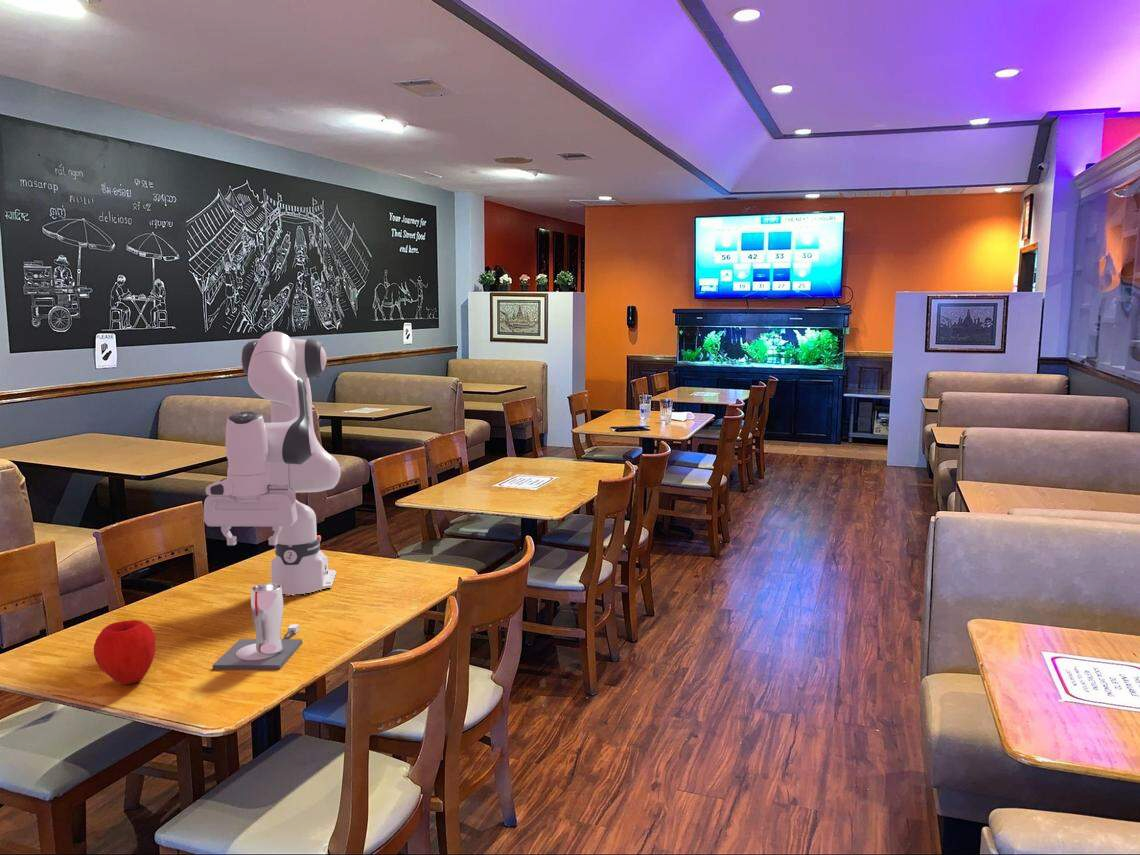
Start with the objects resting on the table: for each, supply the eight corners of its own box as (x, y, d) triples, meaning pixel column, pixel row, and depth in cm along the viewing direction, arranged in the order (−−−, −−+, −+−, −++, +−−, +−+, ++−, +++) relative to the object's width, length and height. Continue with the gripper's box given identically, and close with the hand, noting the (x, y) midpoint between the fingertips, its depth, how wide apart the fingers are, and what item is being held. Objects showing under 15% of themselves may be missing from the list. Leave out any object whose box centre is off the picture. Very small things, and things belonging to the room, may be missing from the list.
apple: (83, 691, 178) (78, 630, 176) (122, 668, 190) (117, 611, 188) (134, 696, 176) (129, 634, 174) (170, 672, 188) (166, 614, 186)
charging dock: (253, 630, 212) (253, 624, 212) (313, 630, 212) (313, 624, 211) (212, 669, 189) (212, 662, 189) (279, 669, 189) (279, 662, 188)
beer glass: (252, 657, 192) (249, 592, 190) (254, 647, 198) (251, 584, 197) (284, 654, 194) (282, 590, 192) (285, 643, 200) (283, 581, 199)
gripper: (299, 482, 194) (302, 541, 195) (210, 482, 194) (214, 540, 196) (290, 487, 187) (293, 548, 189) (198, 487, 188) (202, 548, 190)
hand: (252, 544), depth 193 cm, fingers open, 8 cm apart
